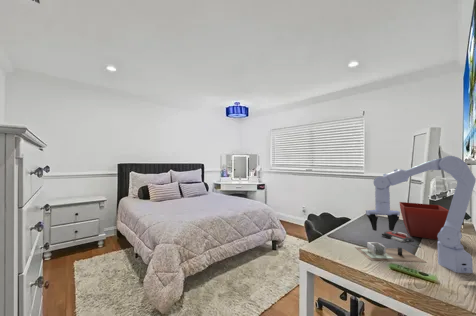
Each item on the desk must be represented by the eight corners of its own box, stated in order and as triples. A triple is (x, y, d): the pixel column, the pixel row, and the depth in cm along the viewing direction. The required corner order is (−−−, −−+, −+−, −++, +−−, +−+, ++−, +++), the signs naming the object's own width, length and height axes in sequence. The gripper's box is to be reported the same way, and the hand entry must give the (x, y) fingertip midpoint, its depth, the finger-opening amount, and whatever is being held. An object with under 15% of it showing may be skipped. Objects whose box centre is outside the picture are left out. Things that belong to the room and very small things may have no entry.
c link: (385, 256, 92) (385, 246, 92) (373, 255, 92) (373, 246, 92) (378, 251, 97) (378, 242, 97) (367, 251, 97) (367, 242, 97)
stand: (427, 265, 86) (427, 255, 86) (371, 263, 88) (371, 253, 88) (403, 250, 100) (402, 242, 100) (354, 249, 102) (354, 241, 102)
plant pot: (439, 233, 126) (439, 204, 126) (451, 243, 109) (450, 210, 110) (399, 228, 135) (399, 201, 136) (404, 237, 119) (404, 206, 119)
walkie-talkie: (378, 237, 120) (419, 251, 101) (378, 229, 120) (419, 241, 101) (389, 235, 123) (430, 248, 104) (389, 227, 123) (430, 239, 104)
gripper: (392, 200, 105) (393, 228, 105) (362, 199, 106) (362, 227, 105) (402, 203, 98) (403, 232, 97) (370, 202, 99) (370, 232, 98)
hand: (382, 230), depth 101 cm, fingers open, 7 cm apart
